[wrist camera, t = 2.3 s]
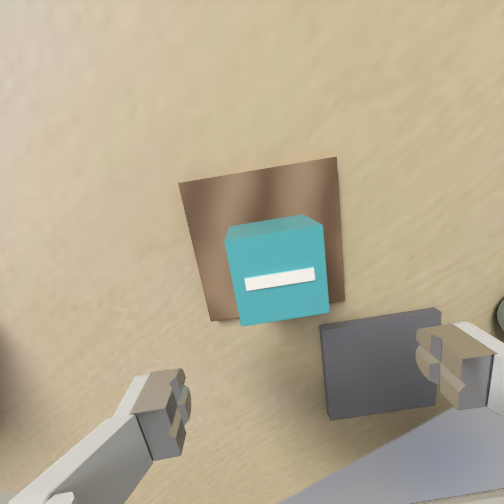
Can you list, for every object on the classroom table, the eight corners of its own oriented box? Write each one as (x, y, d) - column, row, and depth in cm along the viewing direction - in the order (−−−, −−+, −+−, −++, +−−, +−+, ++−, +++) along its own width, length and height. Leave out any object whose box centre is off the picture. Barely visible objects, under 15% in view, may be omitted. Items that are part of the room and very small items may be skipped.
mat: (434, 307, 27) (441, 312, 26) (429, 398, 31) (435, 404, 30) (319, 325, 27) (321, 330, 26) (327, 413, 31) (330, 420, 30)
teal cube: (303, 214, 19) (323, 225, 14) (310, 282, 21) (330, 314, 16) (229, 226, 19) (224, 241, 14) (242, 293, 21) (241, 328, 16)
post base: (330, 158, 22) (379, 144, 14) (339, 294, 26) (381, 344, 18) (182, 183, 23) (147, 183, 15) (212, 314, 27) (198, 372, 18)
